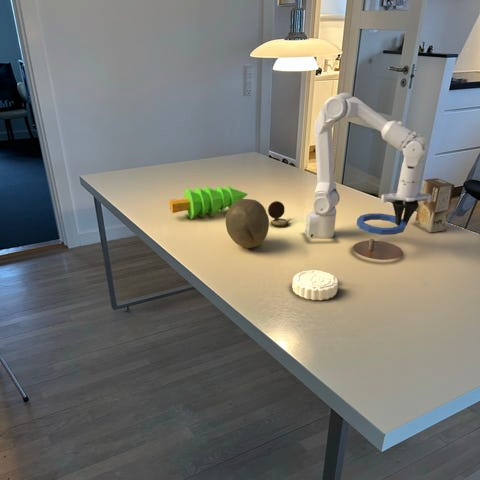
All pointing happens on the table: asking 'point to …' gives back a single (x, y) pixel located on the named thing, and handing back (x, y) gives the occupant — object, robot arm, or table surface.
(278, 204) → the compass
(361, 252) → the platform
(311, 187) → the table surface
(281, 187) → the table surface
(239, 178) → the table surface
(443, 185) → the coffee box
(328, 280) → the mooncake
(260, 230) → the brown coconut
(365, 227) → the ring
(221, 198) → the decorative tree
